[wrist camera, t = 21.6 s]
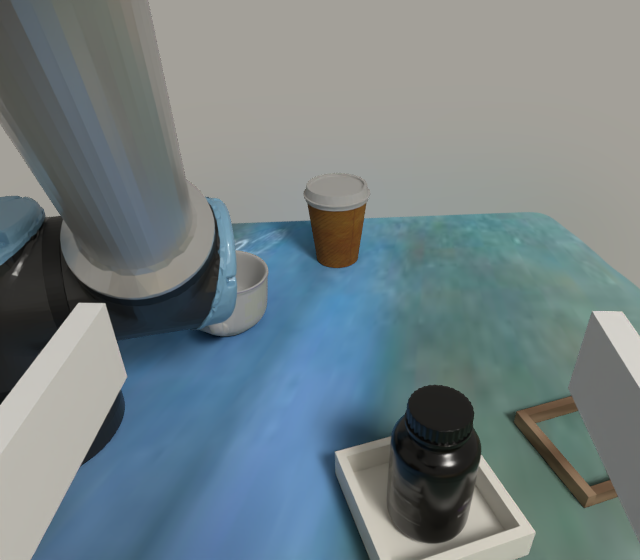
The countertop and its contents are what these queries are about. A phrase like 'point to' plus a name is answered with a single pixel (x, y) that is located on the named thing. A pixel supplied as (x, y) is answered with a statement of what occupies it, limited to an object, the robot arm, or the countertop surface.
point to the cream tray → (413, 556)
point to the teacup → (245, 296)
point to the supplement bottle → (433, 465)
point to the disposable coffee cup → (337, 216)
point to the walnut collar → (552, 454)
